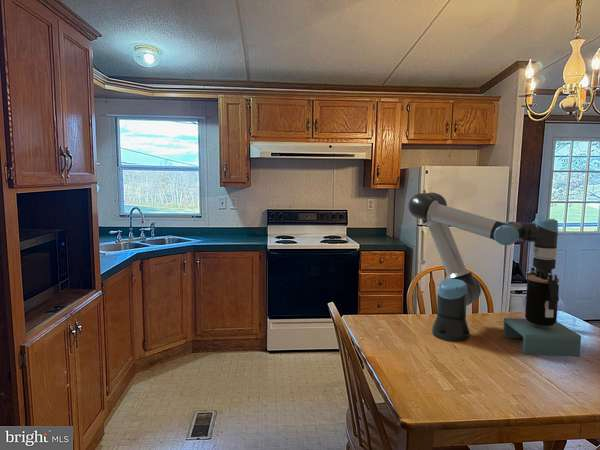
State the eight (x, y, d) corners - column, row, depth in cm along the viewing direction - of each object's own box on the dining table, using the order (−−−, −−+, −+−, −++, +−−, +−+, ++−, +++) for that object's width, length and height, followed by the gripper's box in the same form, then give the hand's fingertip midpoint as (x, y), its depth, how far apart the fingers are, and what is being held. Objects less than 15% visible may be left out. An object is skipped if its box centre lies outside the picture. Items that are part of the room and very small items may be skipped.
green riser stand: (524, 354, 145) (525, 334, 144) (503, 336, 163) (504, 318, 162) (579, 356, 143) (581, 335, 143) (551, 337, 161) (553, 319, 160)
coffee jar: (546, 328, 145) (549, 282, 143) (519, 319, 154) (521, 276, 153) (562, 323, 150) (565, 279, 148) (534, 315, 159) (537, 273, 157)
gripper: (519, 252, 161) (516, 303, 164) (551, 263, 138) (547, 322, 141) (538, 252, 161) (535, 303, 163) (573, 264, 138) (568, 322, 140)
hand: (540, 312), depth 152 cm, fingers closed on coffee jar, 11 cm apart
